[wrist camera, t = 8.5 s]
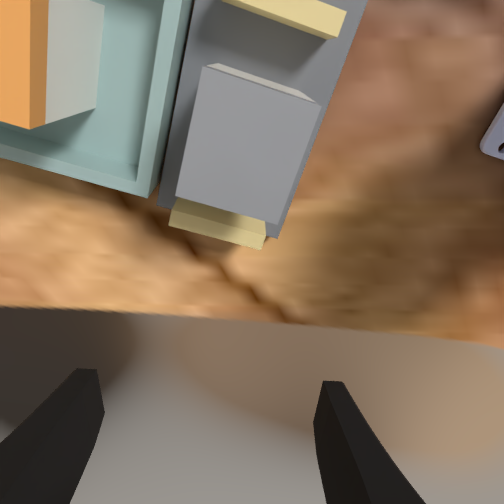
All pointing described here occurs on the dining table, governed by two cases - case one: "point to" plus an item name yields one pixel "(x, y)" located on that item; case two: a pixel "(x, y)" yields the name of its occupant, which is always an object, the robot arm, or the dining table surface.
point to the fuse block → (264, 66)
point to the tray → (117, 103)
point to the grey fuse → (245, 143)
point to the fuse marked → (48, 59)
